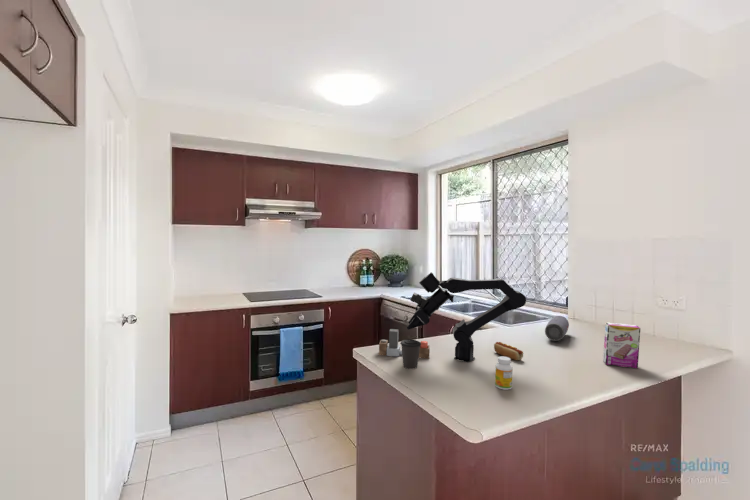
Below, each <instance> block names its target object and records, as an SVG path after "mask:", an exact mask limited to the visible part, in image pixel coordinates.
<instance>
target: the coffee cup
mask: <svg viewBox="0 0 750 500" xmlns="http://www.w3.org/2000/svg"><path fill="white" fill-rule="evenodd" d="M399 345H400V347H401V350H402V355H401V356H402V367H403V368H405V369H407V370H415V369H417V368H418V364H419V358H418V357H419V350H420V346H421V341H419V340H416V339H410V338H409V339H403V340H401V341H400V343H399Z"/></svg>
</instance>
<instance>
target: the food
mask: <svg viewBox="0 0 750 500" xmlns="http://www.w3.org/2000/svg"><path fill="white" fill-rule="evenodd" d="M493 349H494V351H495V352H496V354H498V355H501V356H504V357H509V358H510V359H511V360H514V361H521V360H522V359H523V358H524V351H523V350H521V349H519V348H517V347H514V346H512V345H510V344H507V343H503V342H501V341H496V342H495V343H493Z"/></svg>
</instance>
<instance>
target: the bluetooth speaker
mask: <svg viewBox="0 0 750 500" xmlns="http://www.w3.org/2000/svg"><path fill="white" fill-rule="evenodd" d="M569 327H570V322H569V321H568V319H567V318H566V317H565V316H563V315H556V316H554V317H552V318H551V319H550V320H549V321H548V322H547V324H546V326H545V328H544V333H545V336H546V337H547V338H548V339H549V340H551V341H553V342H557V341H558V342H559V341H561V340H562V339H563V338H564V337H565V336H566V334H567V333H568V330H569Z"/></svg>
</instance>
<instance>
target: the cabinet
mask: <svg viewBox="0 0 750 500" xmlns="http://www.w3.org/2000/svg"><path fill="white" fill-rule="evenodd" d="M430 347H431V346H430V344H428V349H427V348H420V350H419V357H418V359H430V353H431V352H430V350H431V349H430Z"/></svg>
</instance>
